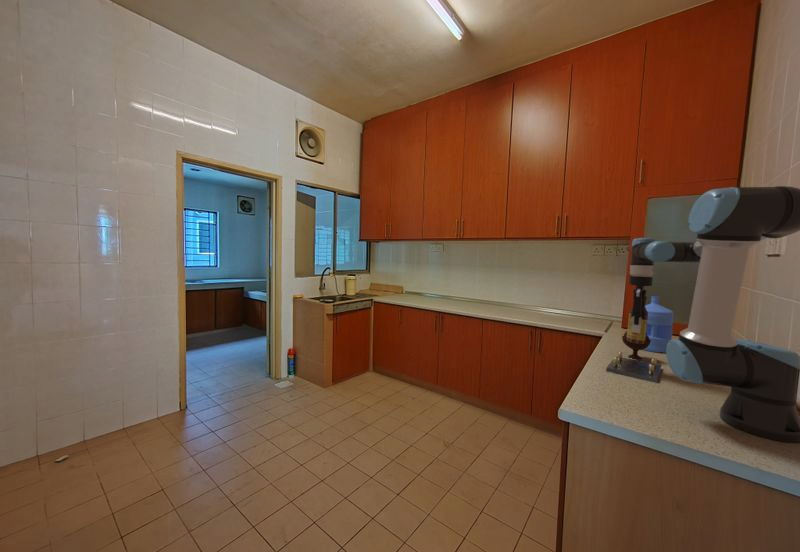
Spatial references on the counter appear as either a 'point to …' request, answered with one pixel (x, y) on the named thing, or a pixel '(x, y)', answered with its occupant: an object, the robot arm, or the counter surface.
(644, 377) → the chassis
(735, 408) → the robot arm
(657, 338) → the water jug
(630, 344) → the ice cream bowl
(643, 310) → the sauce bottle
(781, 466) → the counter surface
